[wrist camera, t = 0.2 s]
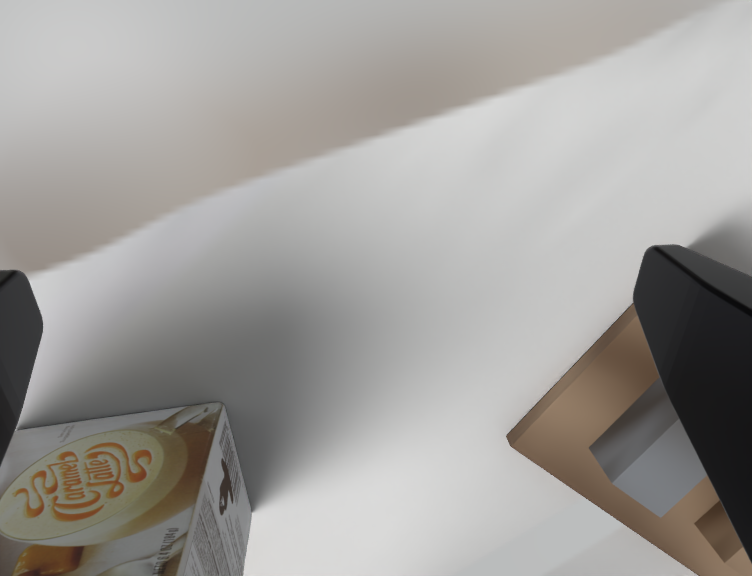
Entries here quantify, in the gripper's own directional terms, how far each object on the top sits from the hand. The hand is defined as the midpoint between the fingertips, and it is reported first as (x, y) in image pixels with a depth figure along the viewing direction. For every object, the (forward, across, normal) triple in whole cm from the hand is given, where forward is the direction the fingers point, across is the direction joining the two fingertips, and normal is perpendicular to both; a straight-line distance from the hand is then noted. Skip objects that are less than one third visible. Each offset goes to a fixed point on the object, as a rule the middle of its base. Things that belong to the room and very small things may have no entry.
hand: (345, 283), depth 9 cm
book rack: (+12, -17, +17) cm, 27 cm away
